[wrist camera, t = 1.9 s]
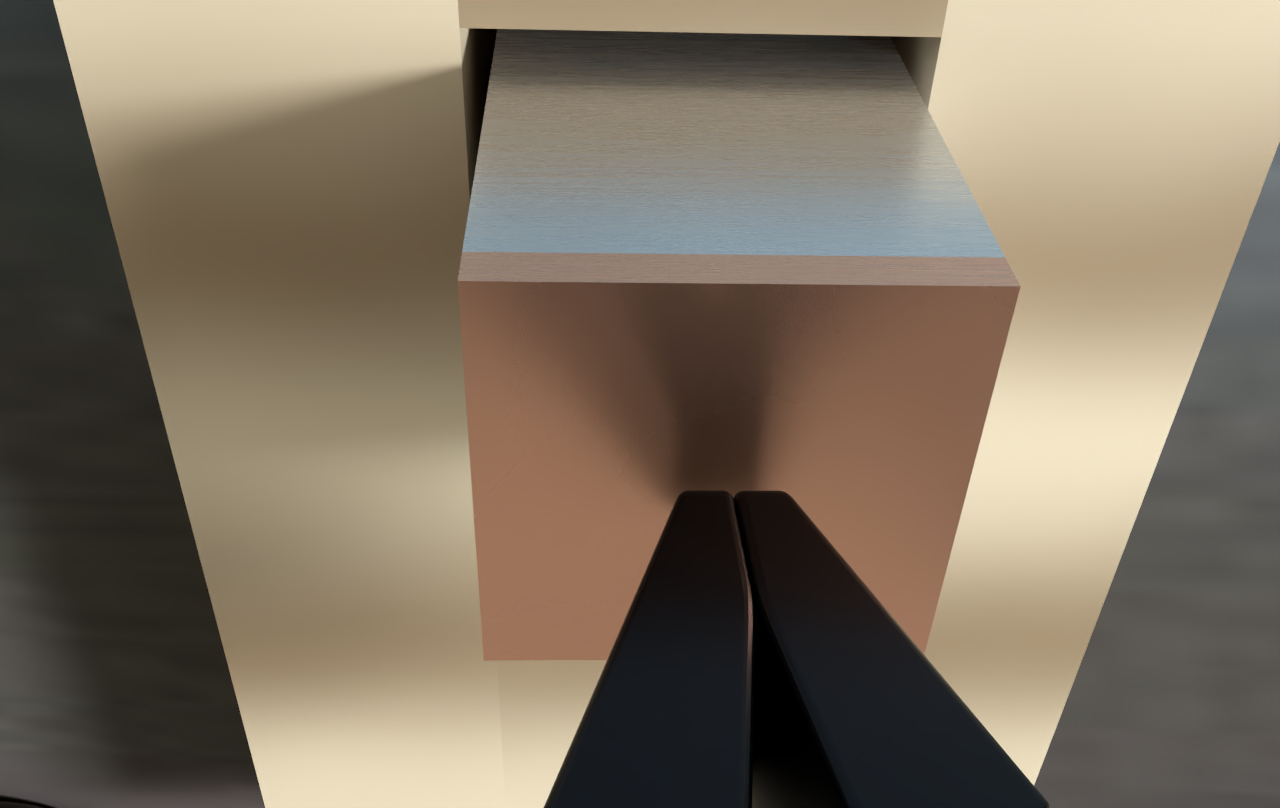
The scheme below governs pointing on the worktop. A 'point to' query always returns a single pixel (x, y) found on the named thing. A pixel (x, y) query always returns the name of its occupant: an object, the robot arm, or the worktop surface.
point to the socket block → (433, 360)
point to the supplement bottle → (16, 805)
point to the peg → (715, 316)
